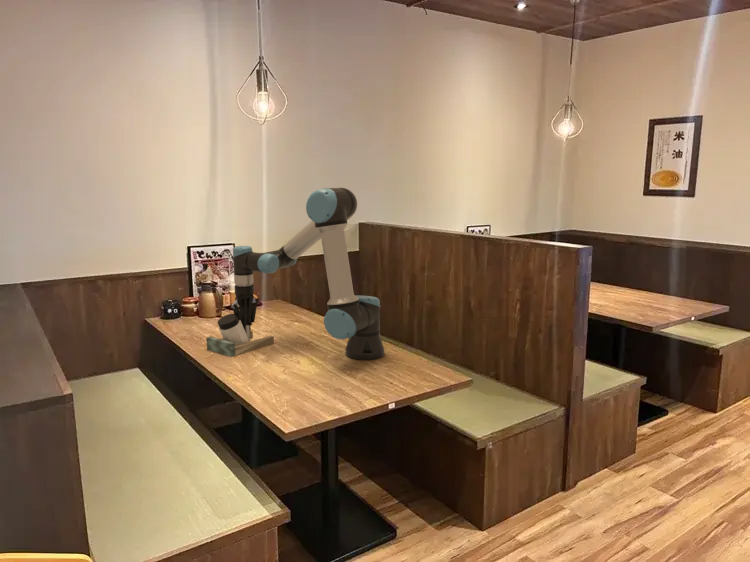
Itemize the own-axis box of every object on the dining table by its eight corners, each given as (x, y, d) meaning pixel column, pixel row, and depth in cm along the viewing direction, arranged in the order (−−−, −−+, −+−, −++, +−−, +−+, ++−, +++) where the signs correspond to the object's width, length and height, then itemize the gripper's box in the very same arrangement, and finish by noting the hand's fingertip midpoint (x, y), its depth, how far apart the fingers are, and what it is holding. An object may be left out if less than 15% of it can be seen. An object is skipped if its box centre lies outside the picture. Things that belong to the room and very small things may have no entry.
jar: (228, 352, 229) (216, 327, 224) (226, 343, 236) (215, 319, 231) (249, 344, 230) (239, 318, 225) (247, 335, 238) (237, 310, 233)
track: (273, 343, 239) (273, 331, 238) (231, 356, 222) (230, 344, 221) (249, 337, 248) (249, 325, 247) (207, 349, 230) (206, 337, 230)
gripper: (250, 280, 239) (252, 335, 244) (225, 285, 229) (227, 342, 234) (262, 282, 235) (264, 338, 240) (237, 288, 225) (239, 346, 230)
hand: (246, 340), depth 237 cm, fingers closed
